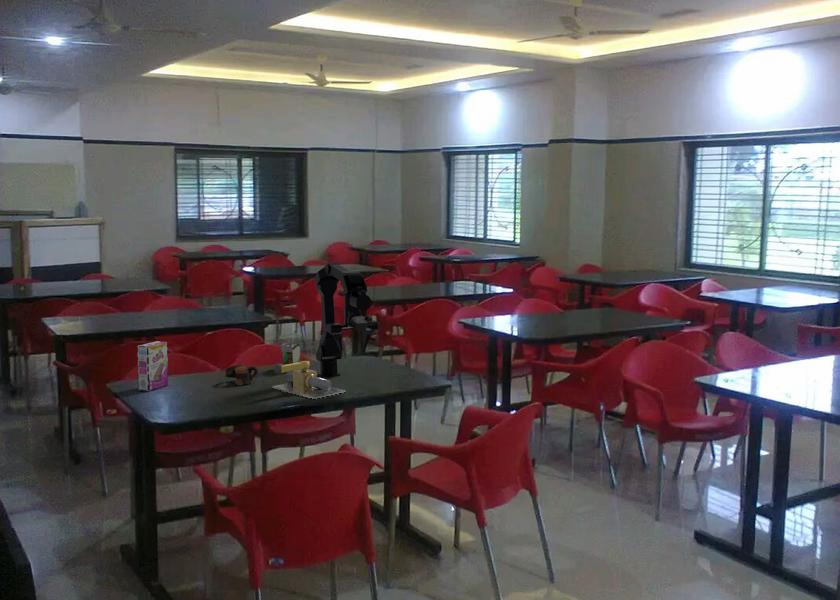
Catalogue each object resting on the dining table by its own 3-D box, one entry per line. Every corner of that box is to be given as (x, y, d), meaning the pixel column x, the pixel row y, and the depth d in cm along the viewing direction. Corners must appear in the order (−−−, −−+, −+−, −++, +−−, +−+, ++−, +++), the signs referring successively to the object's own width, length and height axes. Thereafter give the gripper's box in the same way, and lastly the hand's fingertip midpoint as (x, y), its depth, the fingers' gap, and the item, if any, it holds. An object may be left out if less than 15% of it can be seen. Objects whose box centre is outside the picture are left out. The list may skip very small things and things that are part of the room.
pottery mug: (229, 388, 309) (222, 367, 311) (230, 394, 317) (223, 374, 319) (261, 378, 312) (254, 357, 314) (261, 383, 321) (254, 363, 323)
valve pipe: (272, 388, 306) (271, 366, 305) (303, 382, 316) (302, 360, 315) (314, 399, 290) (313, 376, 289) (345, 392, 300) (345, 370, 299)
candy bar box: (149, 392, 302) (147, 346, 300) (138, 390, 304) (136, 345, 301) (169, 385, 312) (167, 341, 310) (158, 384, 314) (156, 340, 312)
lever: (305, 366, 306) (305, 358, 305) (311, 367, 303) (311, 359, 303) (272, 372, 295) (271, 364, 295) (278, 373, 293) (278, 365, 293)
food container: (286, 365, 346) (285, 341, 345) (301, 365, 346) (300, 341, 344) (277, 371, 334) (276, 346, 333) (292, 372, 333) (291, 347, 332)
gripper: (336, 312, 291) (337, 356, 293) (385, 308, 300) (386, 351, 302) (324, 307, 301) (325, 351, 303) (372, 304, 310) (372, 346, 312)
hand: (352, 350), depth 305 cm, fingers open, 9 cm apart
